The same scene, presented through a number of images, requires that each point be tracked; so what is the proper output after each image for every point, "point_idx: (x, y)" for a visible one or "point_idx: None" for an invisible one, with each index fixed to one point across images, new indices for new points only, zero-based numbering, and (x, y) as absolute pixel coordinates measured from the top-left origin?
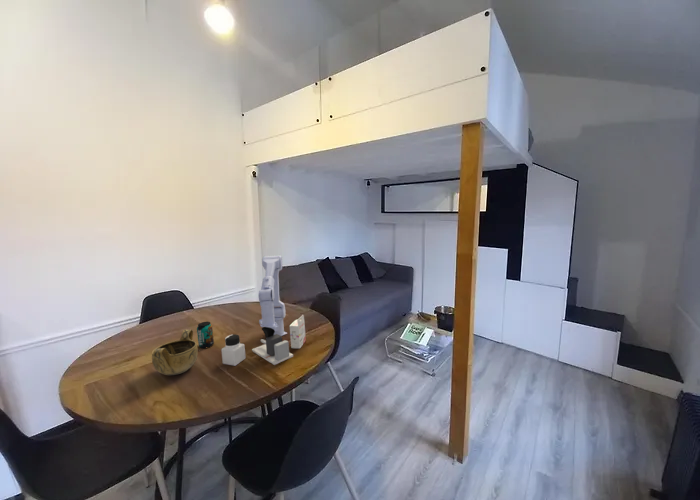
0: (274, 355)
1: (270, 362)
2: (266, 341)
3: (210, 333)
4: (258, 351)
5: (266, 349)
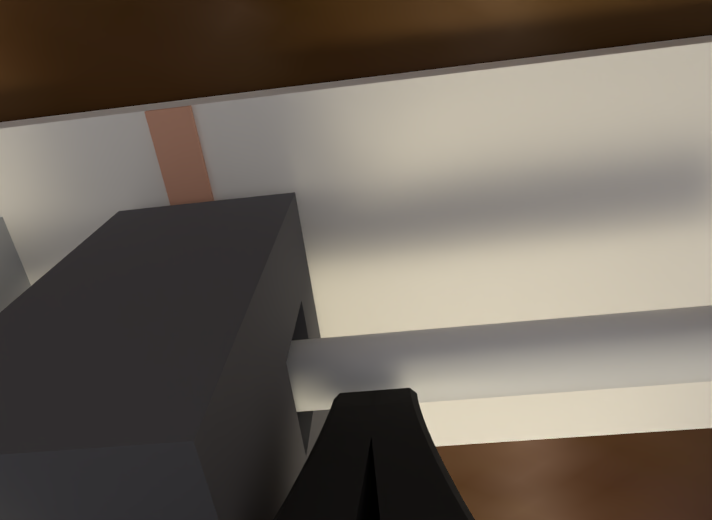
0: None
1: (21, 120)
2: (187, 359)
3: None
4: (564, 105)
5: (509, 265)
